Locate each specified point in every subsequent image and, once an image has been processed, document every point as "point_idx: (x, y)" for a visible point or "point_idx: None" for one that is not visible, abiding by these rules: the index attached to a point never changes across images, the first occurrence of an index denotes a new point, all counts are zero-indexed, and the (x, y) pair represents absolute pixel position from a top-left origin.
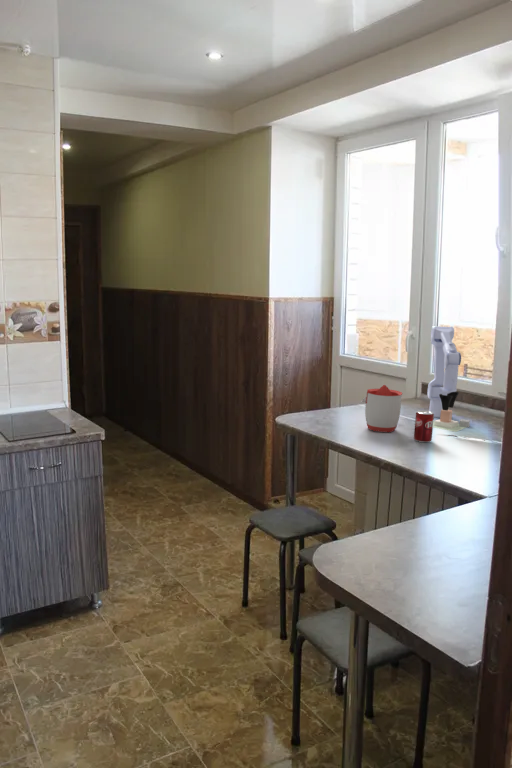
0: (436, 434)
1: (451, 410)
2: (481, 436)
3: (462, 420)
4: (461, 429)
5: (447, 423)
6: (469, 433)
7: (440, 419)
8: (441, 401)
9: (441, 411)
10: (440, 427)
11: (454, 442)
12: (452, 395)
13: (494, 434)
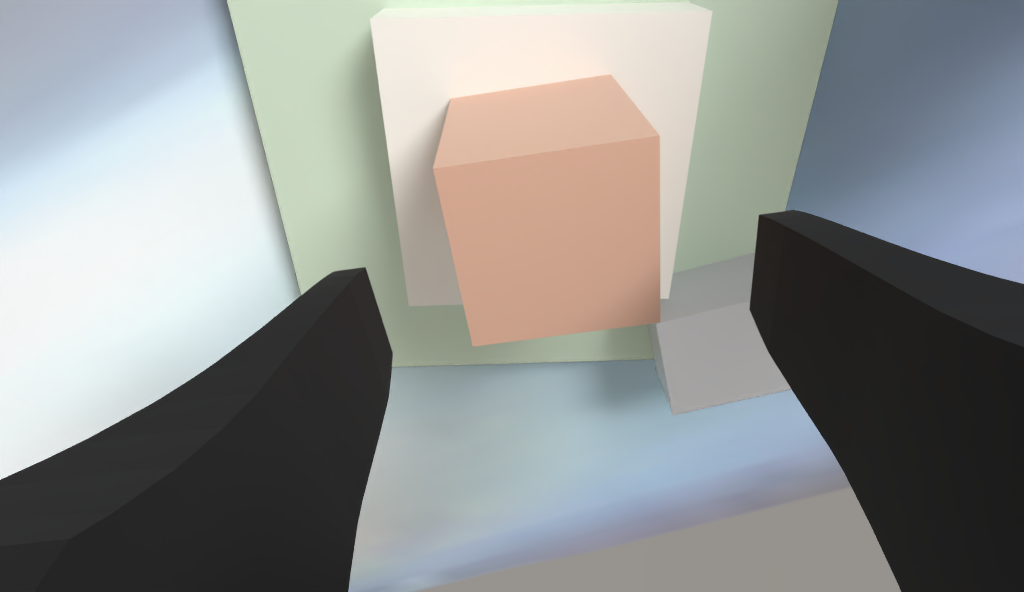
0: (74, 227)
1: (614, 322)
2: (467, 507)
3: (704, 339)
4: (484, 363)
5: (403, 252)
6: (485, 418)
7: (450, 112)
8: (168, 396)
9: (440, 172)
10: (341, 154)
11: (21, 462)
12: (970, 566)
13: (633, 536)
